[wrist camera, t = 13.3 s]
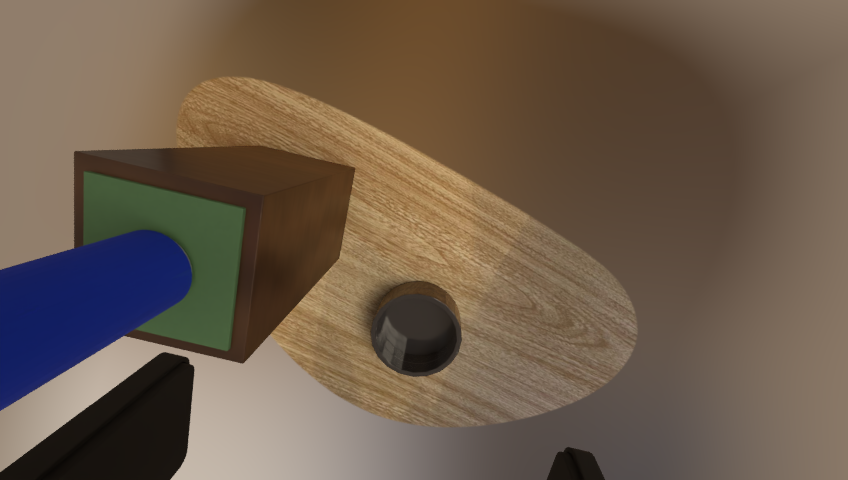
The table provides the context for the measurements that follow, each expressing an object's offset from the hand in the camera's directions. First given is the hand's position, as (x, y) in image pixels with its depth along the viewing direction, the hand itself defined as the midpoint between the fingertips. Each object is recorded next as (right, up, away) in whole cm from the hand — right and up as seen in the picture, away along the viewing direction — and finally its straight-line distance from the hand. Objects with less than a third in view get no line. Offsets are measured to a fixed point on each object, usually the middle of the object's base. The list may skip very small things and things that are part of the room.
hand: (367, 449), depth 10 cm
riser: (-14, +10, +40) cm, 44 cm away
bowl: (+1, -6, +43) cm, 43 cm away
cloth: (-16, +4, +16) cm, 22 cm away
